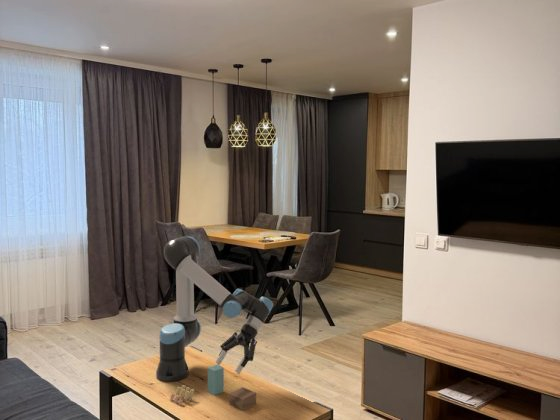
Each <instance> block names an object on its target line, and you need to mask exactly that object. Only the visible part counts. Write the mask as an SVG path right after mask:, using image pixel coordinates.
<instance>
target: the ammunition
mask: <svg viewBox="0 0 560 420" xmlns="http://www.w3.org/2000/svg"><path fill="white" fill-rule="evenodd" d="M194 392H195V389H193V388H191V387H188V386H186V385H184V384H181V387H180V386H177V388H176V390H175V393H171V394H170V397H169V400H170V401H171V402H172V401H173V400H174V403H175V404H177V403H178V405H179V406H181V405H182V404H183V402H184V400H187V401H188V402H190V401H191V400H192V398H193V396H194ZM175 395H176V396H175Z"/></svg>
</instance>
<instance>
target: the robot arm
mask: <svg viewBox="0 0 560 420" xmlns="http://www.w3.org/2000/svg"><path fill="white" fill-rule="evenodd" d="M200 252H201V246H200V243H199V242H198V240H197V239H196V238H194V237H193V236H181V237H178V238H175V239H174V238H173V239H171V240H169V241H168V242H167V243H166V244H165V245H164V248H163V257H164V260H165V261H166V262H167V264H168V265H169V266H170V267H171V268H172V269H174V271H175V285H176V288H175V290H176V291H175V294H176V295H175V296H176V314H175V316H174V317H173V323H169V324H166V325H165V326H162V328H160V331H159V338H158V339H159V361H158V364H157V369H156V370H155V373H156V374H155V377H156V379H157V380H159V381H162V382H177V381H181V380H184V379H186V378H187V377H189V366H188V364H187V361H186V357H185V356H186V355H185V354H186V353H185V352H186V351H185V350H186V349H185V348H186V347H188V346H189V345H190V344H192V343H193V342H195V341H196V340H197V338H199V336H200V335H201V331H202V327H201V323H200V322H199V320H198V316H197V315H196V314H195V291H194V290H195V289H194V288H195V286H196V287H198V288H199V289H200V290H201V291H202V292H203V293H205V294H206V295H207V296H208V297H210V298H211V299H212V300H213V301H214V302H215V303H217V305H219V306H220V307H221V308H222V312H223V314H224V315H225V317H227V318H230V319H232V318H236V317H238V316H239V315H241V313H243V312H244V311H246V312H248V313H249V316H247V319H246V320H245V322H244V324H243V325H242V327H241V329H240V333H238V332H236V331H234V333H233V334H232V335H231V336H230V337H229V338H228V339H226V340H225V341H224V342H223V343H222V344H220V346H219V347H220V348H221V351H220V352H219V354H218V357H217V358H216V360H215V363H216V365H219V366H221V364H222V363H223V361H224V359H225V357H226V356H227V354H228V351H230V350H231V349H234V348H235V347H237V346H242V347H243V354H244V355H243V356H244V357H242V358H241V359H240V362H239V363H238V365H237V367H236V369H235V370H234V371H235V373H236V374H238V375H240V374H241V372H242V370H244V368H245V367H246V366H247V363H248V362H253V360H254V356H255V351H256V345H257V343H258V341H257V340H256V339H255V338H256V337H257V335H258V333H259V331H260V330H261V328H262V327H263V325H264V323H265V322H266V320H267V318H268V316H269V315H270V314H271V310H272V309H273V307H274V303H273V301H272V300H271V299H269V298H268V297H266V296H261V297H260V298H256V297H255V296H254V295H251V294H250V293H248V292H247V291H245V290H243V289H241V288H237V289H235V291H234V292H233V293H231V292H230V291H229V290H228V289H227V288H226V287H224V286H223V285H222V284H221V283H220V282H218V280H216V279H215V278H214V277H213V276H212V275H210V274H209V273H208V272H207V271H205V269H204V268H202V267H201V266H200V265H199V264H198V263H197V261H198V260H197V257H198V256H199V254H200ZM194 285H195V286H194Z"/></svg>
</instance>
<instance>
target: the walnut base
mask: <svg viewBox="0 0 560 420" xmlns="http://www.w3.org/2000/svg"><path fill="white" fill-rule="evenodd" d="M228 404H229V406H231V407H234V408H236V409H238V410H240V411H242V412H243V411H245V410H247V409H249V408H251V407H253V406H254V405H257V392H255V391H253V390H251V389H248V388H245V387H243V386H242V387H240V388H237V389H236V390H234V391H232V392H230V393H228Z"/></svg>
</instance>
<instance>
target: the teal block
mask: <svg viewBox="0 0 560 420" xmlns="http://www.w3.org/2000/svg"><path fill="white" fill-rule="evenodd" d="M224 373H225V370H224V367H223V366H221V365H218V364H214V365H211V366H209V367H207V392H208V393H209V394H211V395H213V396H217V395H219V394H222V393H223V392H224V390H225V389H224V388H225V387H224V385H225V384H224V383H225V382H224V381H225V380H224Z"/></svg>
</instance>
